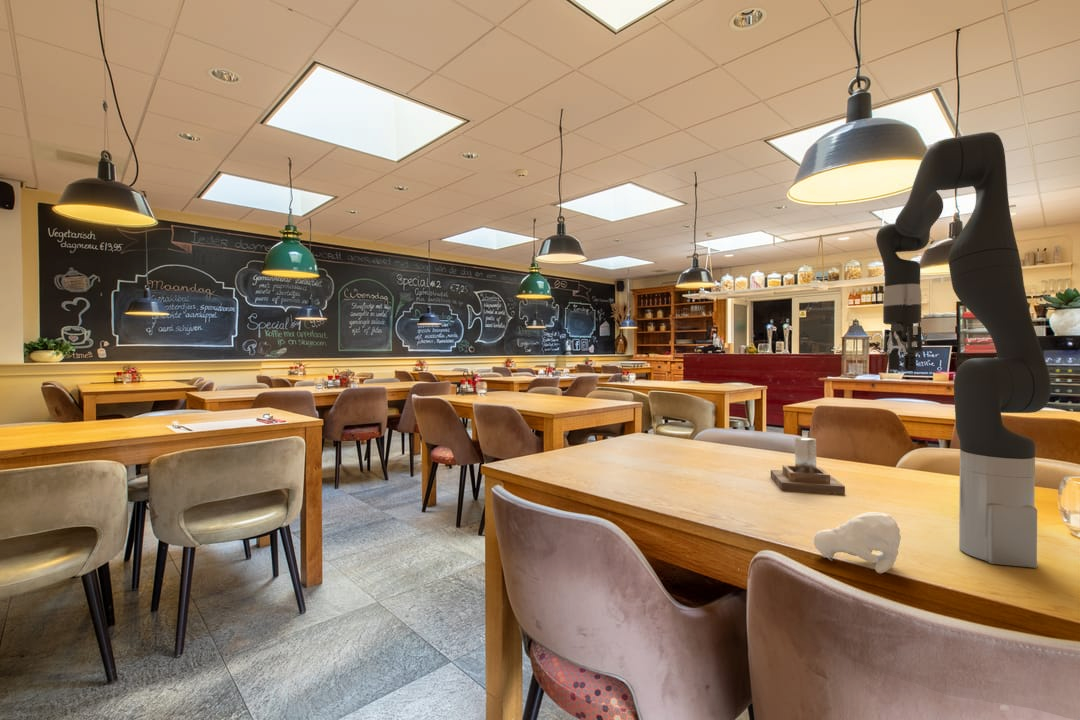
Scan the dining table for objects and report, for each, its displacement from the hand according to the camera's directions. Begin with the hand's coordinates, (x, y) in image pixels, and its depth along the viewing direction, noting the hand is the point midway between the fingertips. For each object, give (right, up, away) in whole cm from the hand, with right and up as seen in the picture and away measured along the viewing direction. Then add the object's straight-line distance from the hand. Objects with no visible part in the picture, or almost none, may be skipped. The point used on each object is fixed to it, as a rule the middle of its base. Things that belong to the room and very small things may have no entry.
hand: (901, 370), depth 120 cm
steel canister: (-20, -28, +7) cm, 35 cm away
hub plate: (-20, -30, +7) cm, 37 cm away
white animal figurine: (-38, -31, -41) cm, 63 cm away
